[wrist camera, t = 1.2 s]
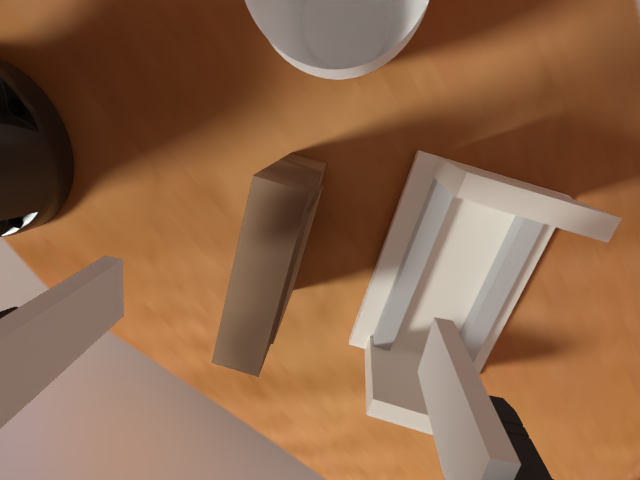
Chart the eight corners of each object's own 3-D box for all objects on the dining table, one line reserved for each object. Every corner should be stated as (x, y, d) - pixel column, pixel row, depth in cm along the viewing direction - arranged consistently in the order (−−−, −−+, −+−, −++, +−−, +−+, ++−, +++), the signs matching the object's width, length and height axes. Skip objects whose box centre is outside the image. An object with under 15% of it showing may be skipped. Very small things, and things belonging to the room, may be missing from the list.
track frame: (349, 338, 35) (346, 408, 27) (417, 149, 30) (441, 164, 21) (471, 375, 35) (507, 457, 27) (564, 193, 30) (647, 226, 21)
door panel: (259, 281, 35) (211, 362, 23) (291, 152, 31) (252, 175, 19) (293, 291, 35) (262, 377, 23) (330, 163, 31) (313, 193, 19)
